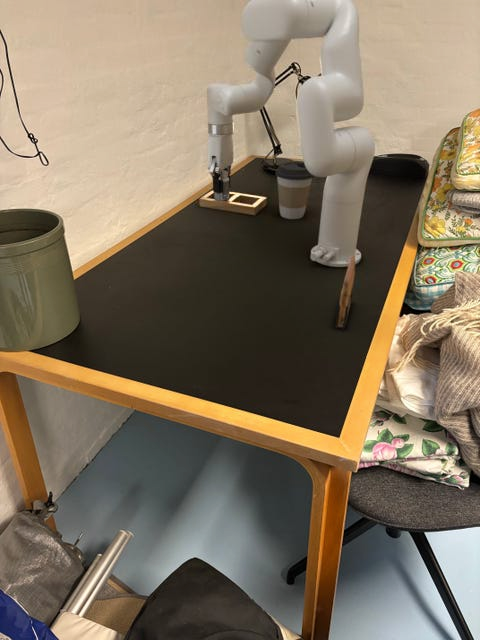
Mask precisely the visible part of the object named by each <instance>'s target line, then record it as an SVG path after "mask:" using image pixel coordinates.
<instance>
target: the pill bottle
mask: <svg viewBox="0 0 480 640" xmlns="http://www.w3.org/2000/svg"><path fill="white" fill-rule="evenodd" d="M216 173H218V175H219V172H218V171H216ZM222 180H223V193H217V192H214V193H215V199H216V200H223V201H227V199H229V192H230V188H229V178H228V171H225V170H222Z"/></svg>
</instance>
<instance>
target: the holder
mask: <svg viewBox="0 0 480 640" xmlns="http://www.w3.org/2000/svg"><path fill="white" fill-rule="evenodd" d="M198 200H199V201H198V202H199V207H201V208H206V209H207V208H208V209H214V210H220V211H226V212H232V213H239V214H243V215H244V214H245V215H251V216H256V215H257V214H258V213H259V212H260V211H261V210H262V209H264V208H265V207H266V206H267V200H268V198H267V197H266V196H259V195H252V194H247V193H240V192H234V191H229V199H227V200H217V199H215V193H214V192H213V189H212V190H210V191H209V192H207V193H206V194H204V195H203V196H201V197H199V199H198Z"/></svg>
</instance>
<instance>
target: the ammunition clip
mask: <svg viewBox="0 0 480 640" xmlns="http://www.w3.org/2000/svg"><path fill="white" fill-rule="evenodd" d="M355 270H356V264H355V255H354V254H353V255H352V256H351V259H350V262H349V266H348V267H347V269H346V273H345V276H344V280H343V284H342V289H341V291H340V297H339V302H338V307H337V312H336V313H337V314H336V321H335V328H336V329H341V330H346V325H347V322H348V318H349V315H350V309H351V304H352V300H353V293H354V288H355V287H354V286H355V274H356V272H355Z"/></svg>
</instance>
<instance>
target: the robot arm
mask: <svg viewBox="0 0 480 640" xmlns="http://www.w3.org/2000/svg"><path fill="white" fill-rule="evenodd" d="M240 29H241V34H242V35H243V36H244V38H245V39H246V40H247V41H248V43H247V45H246V46H245V49H244V51H243V56H244V60H245V63H247V66H248V67H249V68H250V69H251V70H252V71H254V72H255V73H256V75H255V78H254V79H253V81H252V82H251V83H244V84H234V85H232V84H230V83H228V82H227V83H226V82H214V83H209V84H208V85H207V88H206V108H207V109H206V110H207V111H206V112H207V135H208V137H207V143H206V144H207V145H206V168H207V170H209V175H210V176H211V180H212V190H213V192H217V193H223V180H222V170H225V171H228V178H229V189H230V188H231V174H232V173H231V172H232V171H231V170H232V164H233V163H234V139H233V135H234V116H239V115H244V114H251V113H252V114H253V113H257V112H259V111H260V110H261V109H262V108H264V107H265V105H266V104H267V102H268V101H269V99H270V98H271V96H272V95H273V93H274V90H275V87H276V70H275V67H276V66H277V64H278V62H279V60H280V59H281V57H282V55H283V54H284V52H285V51H286V49H287V47H288V45H289V44H290V42H291V41H292V40H297V39H315V38H323V41H322V43H321V47H320V52H319V64H320V65H319V66H320V75H317V76H313V77H310V78H308V79H306V80H305V81H304V82H303V83H302V84H301V86H300V88H299V90H298V93H297V95H296V101H295V106H296V108H295V109H296V110H295V111H296V119H297V120H296V121H297V129H298V134H299V142H300V149H301V156H302V160H303V161H302V162H304V164H305V166H306V168H307V170H308V171H309V172H310V173H311V174H312V175H314V177H316V178H326V180H325V182H324V187H323V193H322V201H321V211H320V220H319V221H320V222H319V231H318V241H317V245H314V246H313V247H312V248H311V250H310V257H309V258H310V260H311V261H313V262H317V263H319V264H321V265H323V266H328V267H331V268H332V267H333V268H348V266H349V262H350V259H351V256H352V255H353V254H354V255H355V265H357V264H359V263H360V262H361V259H362V253H361V251H359V249H357V242H358V236H359V230H360V224H361V217H362V210H363V204H364V199H365V193H366V192H365V191H366V185H367V180H368V176H369V173H370V169H371V167H372V164H373V161H374V158H375V153H376V142H375V139H374V136H373V134H372V133H371V132H370V131H369V129H367V128H365V127H363V126H359V125H350V126H349V125H348V126H344V127H338V128H335V123H339V122H344V121H349V120H351V119H354V118H356V117H358V116H359V115H360V114H361V112H362V111H363V109H364V104H365V93H364V82H363V81H364V80H363V72H362V70H363V69H362V60H361V59H362V58H361V53H360V52H361V51H360V17H359V12H358V9H357V7H356V5H355V3H354V1H352V0H250V1H248V3H247V4H246V5H245V6H244V8H243V10H242V13H241V16H240ZM216 171H218V172H219V175H218V173H216Z"/></svg>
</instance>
